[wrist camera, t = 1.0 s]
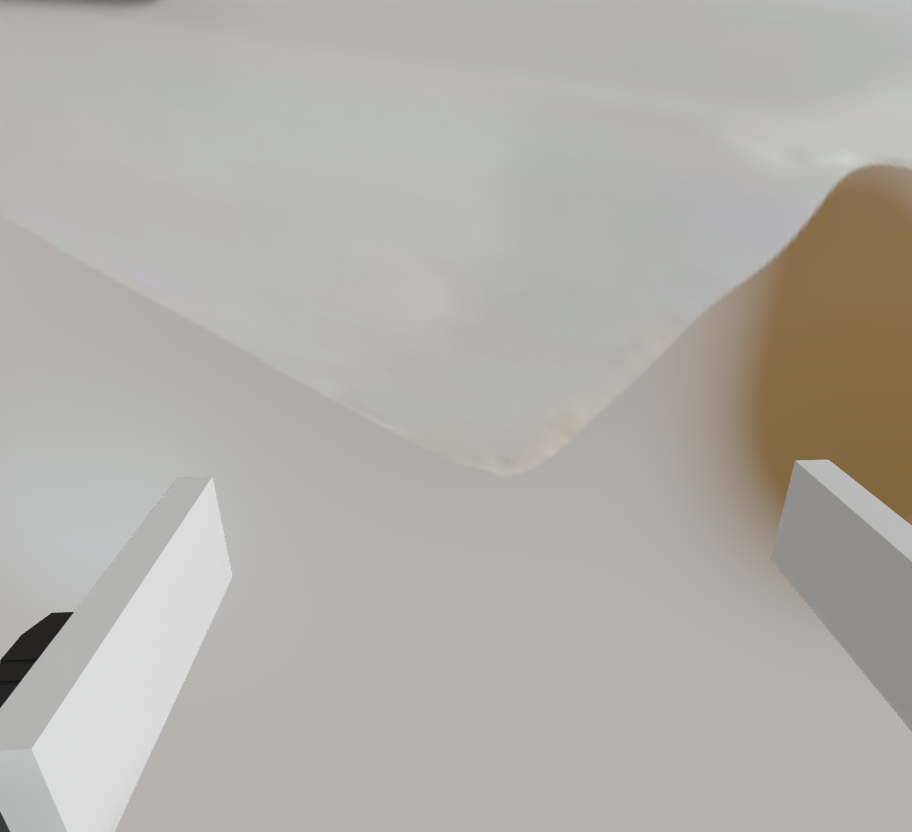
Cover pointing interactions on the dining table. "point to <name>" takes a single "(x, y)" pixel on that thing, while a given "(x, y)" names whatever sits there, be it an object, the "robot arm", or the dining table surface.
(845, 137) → the dining table surface
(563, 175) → the dining table surface
